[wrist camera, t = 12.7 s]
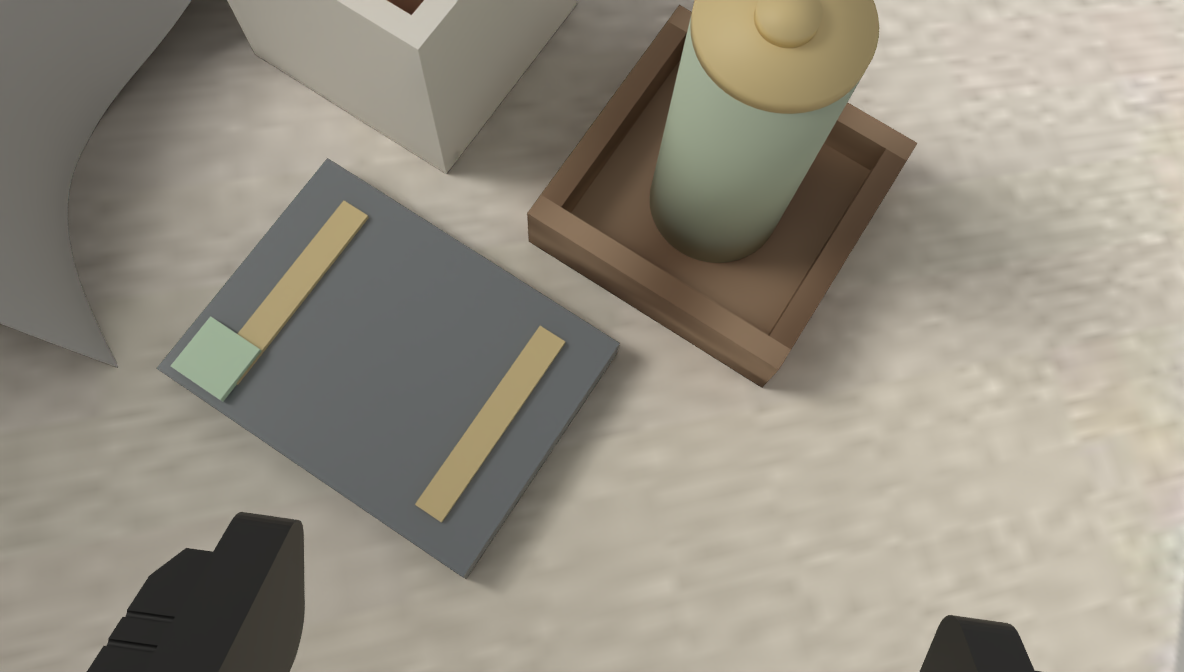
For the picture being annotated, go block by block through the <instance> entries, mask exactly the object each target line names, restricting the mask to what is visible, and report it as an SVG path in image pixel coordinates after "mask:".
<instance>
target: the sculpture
mask: <svg viewBox="0 0 1184 672" xmlns="http://www.w3.org/2000/svg"><path fill="white" fill-rule="evenodd" d="M190 2H191V0H0V324H2V325H5V326H8V327H10V328H13V329H15V330H18V331H21V332H23V333H26V334H29V335H31V336H34V337H36V338H39V339H42V340H44V341H47V342H50V343H52V344H55V345H58V346H60V347H63V348H66V349H68V350H71V351H74V352H76V353H79V354H82V355H84V356H87V357H90V358H93V359H95V360H98V361H101V362H104V363H106V364H109V365H112V366H115V367H118V365H117V362H116V360H115V358H114V356H113V354H112V352H111V350H110V348H109V346H108V344H107V342H106V340H105V338H104V336H103V334H102V332H101V330H100V328H99V326H98V324H97V322H96V320H95V317H94V315H93V313H92V311H91V308H90V306H89V304H88V301H87V299H86V296H85V294H84V291H83V288H82V285H81V283H80V280H79V276H78V273H77V270H76V266H75V263H74V259H73V254H72V250H71V244H70V238H69V229H68V200H69V191H70V186H71V181H72V177H73V173H74V170H75V167H76V165H77V162H78V160H79V157H80V155H81V153H82V151H83V149H84V147H85V145H86V144H87V142H88V140H89V138H90V136H91V134H92V132H93V131H94V129H95V127H96V125H97V124H98V122H99V120H100V119H101V117H102V116H103V114H104V113H105V111H106V110H107V108H108V107H109V106H110V104H111V103H112V101H113V100H114V99H115V97H116V96H117V95H118V94H119V92H120V91H121V90H122V88H123V87H124V86H125V85H126V83H127V82H128V81H129V80H130V79H131V77H132V76H133V75H134V74H135V73H136V71H137V70H138V69H139V68H140V67H141V65H142V64H143V63H144V62H145V61H146V59H147V58H148V57H149V56H150V55H151V53H152V52H153V51H154V50H155V49H156V47H157V46H158V45H159V44H160V42H161V41H162V40H163V39H164V37H165V36H166V35H167V34H168V32H169V31H170V30H171V28H172V27H173V26H174V24H175V23H176V22H177V20H178V19H179V18H180V16H181V15H182V13H183V12H184V10H185V9H186V8H187V6H188V5H189V3H190Z"/></svg>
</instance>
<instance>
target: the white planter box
mask: <svg viewBox="0 0 1184 672" xmlns="http://www.w3.org/2000/svg"><path fill="white" fill-rule="evenodd" d="M227 1H228V3H229V5H230V7H231V9H232V11H233V13H234V15H235V16H236V18H237V20H238V22H239V24H240V26H241V28H242V30H243V32H244V34H245V36H246V38H247V40H248V42H249V44H250V45H251V47H252V49H253V51H254V53H255V55H257V56H258V57H260V58H262V59H263V60H265V61H266V62H268V63H270V64H271V65H273V66H274V67H276V68H278V69H279V70H281V71H282V72H284V73H286V74H287V75H289V76H290V77H292V78H294V79H295V80H297V81H298V82H300V83H302V84H303V85H305V86H306V87H308V88H310V89H311V90H313V91H314V92H316V93H318V94H319V95H321V96H322V97H324V98H326V99H327V100H329V101H330V102H332V103H334V104H335V105H337V106H338V107H340V108H342V109H343V110H345V111H346V112H348V113H350V114H351V115H353V116H354V117H356V118H358V119H359V120H361V121H362V122H364V123H366V124H367V125H369V126H370V127H372V128H374V129H375V130H377V131H378V132H380V133H382V134H383V135H385V136H386V137H388V138H390V139H391V140H393V141H394V142H396V143H398V144H399V145H401V146H402V147H404V148H406V149H407V150H409V151H410V152H412V153H414V154H415V155H417V156H418V157H420V158H422V159H423V160H425V161H426V162H428V163H430V164H431V165H433V166H434V167H436V168H438V169H439V170H441V171H442V172H444V173H446V174H447V172H448V171H449V170H450V169H451V167H452V166H453V165H454V163H455V162H456V161H457V159H458V158H459V157H460V156H461V154H462V153H463V152H464V150H465V149H466V148H467V146H468V145H469V144H470V143H471V141H472V140H473V139H474V137H475V136H476V135H477V133H478V132H479V131H480V130H481V128H482V127H483V126H484V124H485V123H486V122H487V120H488V119H489V118H490V116H491V115H492V114H493V113H494V111H495V110H496V109H497V107H498V106H499V105H500V103H501V102H502V101H503V100H504V98H505V97H506V96H507V94H508V93H509V92H510V90H511V89H512V88H513V87H514V85H515V84H516V83H517V81H518V80H519V79H520V77H521V76H522V75H523V74H524V72H525V71H526V70H527V68H528V67H529V66H530V64H531V63H532V62H533V60H534V59H535V58H536V57H537V55H538V54H539V53H540V51H541V50H542V49H543V47H544V46H545V45H546V44H547V42H548V41H549V40H550V38H551V37H552V36H553V34H554V33H555V32H556V31H557V29H558V28H559V27H560V25H561V24H562V23H563V21H564V20H565V19H566V18H567V16H568V15H569V14H570V12H571V11H572V10H573V8H574V7H575V6H576V4H577V2H578V0H424V1H423V2H422V3H421V4H420V6H419V7H418V8H417V9H416V11H415V12H414V13H413V14H412V15H410V14H408V13H407V12H405V11H403V10H402V9H400V8H399V7H397V6H395V5H394V4H392V3H390V2H389V1H387V0H227Z"/></svg>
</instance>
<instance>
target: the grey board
mask: <svg viewBox="0 0 1184 672" xmlns="http://www.w3.org/2000/svg"><path fill="white" fill-rule="evenodd" d="M619 344H620V343H619V342H617V341H615V340H614V339H612V338H611V337H609V336H608V335H606V334H604V333H603V332H601V331H600V330H598V329H596V328H595V327H593V326H592V325H590V324H589V323H587V322H585V321H584V320H582V319H581V318H579V317H578V316H576V315H574V314H573V313H571V312H570V311H568V310H567V309H565V308H563V307H562V306H560V305H559V304H557V303H555V302H554V301H552V300H551V299H549V298H548V297H546V296H544V295H543V294H541V293H540V292H538V291H537V290H535V289H533V288H532V287H530V286H529V285H527V284H525V283H524V282H522V281H521V280H519V279H518V278H516V277H514V276H513V275H511V274H510V273H508V272H507V271H505V270H503V269H502V268H500V267H499V266H497V265H495V264H494V263H492V262H491V261H489V260H488V259H486V258H484V257H483V256H481V255H480V254H478V253H477V252H475V251H473V250H472V249H470V248H469V247H467V246H465V245H464V244H462V243H461V242H459V241H458V240H456V239H454V238H453V237H451V236H450V235H448V234H447V233H445V232H443V231H442V230H440V229H439V228H437V227H436V226H434V225H432V224H431V223H429V222H428V221H426V220H424V219H423V218H421V217H420V216H418V215H417V214H415V213H413V212H412V211H410V210H409V209H407V208H406V207H404V206H402V205H401V204H399V203H398V202H396V201H394V200H393V199H391V198H390V197H388V196H387V195H385V194H383V193H382V192H380V191H379V190H377V189H376V188H374V187H372V186H371V185H369V184H368V183H366V182H364V181H363V180H361V179H360V178H358V177H357V176H355V175H353V174H352V173H350V172H349V171H347V170H346V169H344V168H342V167H341V166H339V165H338V164H336V163H334V162H333V161H331V160H330V159H328V158H327V159H326V161H325V162H324V163H323V164H322V165H321V167H320V168H319V169H318V170H317V172H316V173H315V174H314V175H313V176H312V178H311V179H310V180H309V181H308V183H307V184H306V185H305V186H304V188H303V189H302V190H301V191H300V192H299V194H298V195H297V196H296V197H295V199H294V200H293V201H292V202H291V204H290V205H289V206H288V207H287V208H286V210H285V211H284V212H283V213H282V215H281V216H280V217H279V218H278V220H277V221H276V222H275V223H274V224H273V226H272V227H271V228H270V229H269V231H268V232H267V233H266V234H265V236H264V237H263V238H262V239H261V240H260V242H259V243H258V244H257V245H256V247H255V248H254V249H253V250H252V252H251V253H250V254H249V255H248V256H247V258H246V259H245V260H244V261H243V263H242V264H241V265H240V266H239V268H238V269H237V270H236V271H235V272H234V274H233V275H232V276H231V277H230V279H229V280H228V281H227V282H226V283H225V285H224V286H223V287H222V288H221V290H220V291H219V292H218V293H217V295H216V296H215V297H214V298H213V299H212V301H211V302H210V303H209V304H208V306H207V307H206V308H205V309H204V311H203V312H202V313H201V314H200V315H199V317H198V318H197V319H196V320H195V322H194V323H193V324H192V325H191V327H190V328H189V329H188V330H187V331H186V333H185V334H184V335H183V336H182V338H181V339H180V340H179V341H178V343H177V344H176V345H175V346H174V347H173V349H172V350H171V351H170V352H169V354H168V355H167V356H166V357H165V359H164V360H163V361H162V362H161V363H160V365H159V366H158V367H157V369H158V370H159V371H161V372H162V373H164V374H165V375H167V376H168V377H170V378H171V379H173V380H174V381H176V382H177V383H179V384H180V385H181V386H183V387H184V388H186V389H187V390H189V391H190V392H192V393H193V394H195V395H196V396H198V397H199V398H201V399H202V400H203V401H205V402H206V403H208V404H209V405H211V406H212V407H214V408H215V409H217V410H218V411H220V412H221V413H223V414H224V415H225V416H227V417H228V418H230V419H231V420H233V421H234V422H236V423H237V424H239V425H240V426H242V427H243V428H245V429H246V430H247V431H249V432H250V433H252V434H253V435H255V436H256V437H258V438H259V439H261V440H262V441H264V442H265V443H267V444H268V445H269V446H271V447H272V448H274V449H275V450H277V451H278V452H280V453H281V454H283V455H284V456H286V457H287V458H289V459H290V460H291V461H293V462H294V463H296V464H297V465H299V466H300V467H302V468H303V469H305V470H306V471H308V472H309V473H311V474H312V475H313V476H315V477H316V478H318V479H319V480H321V481H322V482H324V483H325V484H327V485H328V486H330V487H331V488H333V489H334V490H335V491H337V492H338V493H340V494H341V495H343V496H344V497H346V498H347V499H349V500H350V501H352V502H353V503H355V504H356V505H357V506H359V507H360V508H362V509H363V510H365V511H366V512H368V513H369V514H371V515H372V516H374V517H375V518H377V519H378V520H379V521H381V522H382V523H384V524H385V525H387V526H388V527H390V528H391V529H393V530H394V531H396V532H397V533H398V534H400V535H401V536H403V537H404V538H406V539H407V540H409V541H410V542H412V543H413V544H415V545H416V546H418V547H419V548H420V549H422V550H423V551H425V552H426V553H428V554H429V555H431V556H432V557H434V558H435V559H437V560H438V561H440V562H441V563H442V564H444V565H445V566H447V567H448V568H450V569H451V570H453V571H454V572H456V573H457V574H459V575H460V576H462V577H463V578H465V579H466V578H467V577H468V575H469V574H470V572H471V571H472V569H473V568H474V566H475V565H476V563H477V562H478V560H479V559H480V557H481V556H482V554H483V553H484V551H485V550H486V548H487V547H488V545H489V544H490V542H491V541H492V539H493V538H494V536H495V535H496V533H497V532H498V530H499V529H500V527H501V526H502V524H503V523H504V522H505V520H506V519H507V517H508V516H509V514H510V513H511V511H512V510H513V508H514V507H515V505H516V504H517V502H518V501H519V499H520V498H521V496H522V495H523V493H524V492H525V490H526V489H527V487H528V486H529V484H530V483H531V481H532V480H533V478H534V477H535V475H536V474H537V472H538V471H539V469H540V468H541V466H542V465H543V463H544V462H545V460H546V459H547V457H548V456H549V454H550V453H551V451H552V450H553V448H554V447H555V445H556V444H557V442H558V441H559V439H560V438H561V436H562V435H563V433H564V432H565V430H566V429H567V427H568V426H569V424H570V423H571V421H572V420H573V418H574V417H575V415H576V414H577V412H578V411H579V409H580V408H581V406H582V405H583V403H584V402H585V400H586V399H587V397H588V396H589V394H590V393H591V391H592V390H593V388H594V387H595V385H596V384H597V382H598V381H599V379H600V378H601V376H602V375H603V373H604V372H605V370H606V369H607V367H608V366H609V364H610V363H611V361H612V360H613V358H614V357H615V355H616V354H617V352H618V348H619Z"/></svg>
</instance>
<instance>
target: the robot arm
mask: <svg viewBox="0 0 1184 672" xmlns="http://www.w3.org/2000/svg"><path fill="white" fill-rule="evenodd" d="M304 611H305V600H304V533H303V525H302V523H301V521H299V520H294V519H287V518H280V517H273V516H266V515H259V514H252V513H245V512H239V513H238V514H236V516H235V517H234V518H233V519H232V521H231V522H230V524H229V526H228V527H227V529H226V531H225V533H224V534H223V536H222V538H221V539H220V541H219V543H218V544H217V546H216V548H215V550H214V551H213V552H211V551H204V550H197V549H189V548H186V549H184V550H183V551H182V552H180V553H179V554H178V555H176V556H175V557H174V558H172V559H171V560H170V561H168V562H167V563H166V564H164V565H163V566H162V567H160V568H159V569H158V570H156V571H155V572H154V573H152V574H151V575H150V576H149V577H148V579H147V580H146V582H145V583H144V585H143V586H142V588H141V589H140V591H139V593H138V594H137V596H136V597H135V599H134V600H133V602H132V603H131V605H130V606H129V608H128V609H127V614H126V617H122V619H121V620H120V622H119V623H118V625H117V626H116V628H115V629H114V631H113V632H112V634H111V635H110V637H109V640H108V644H107V646H103V648H102V649H101V651H100V652H99V654H98V655H97V657H96V658H95V660H94V661H93V663H92V665H91V666H90V668H89V669H88V671H87V672H290V669H291V667H292V665H293V662H294V660H295V657H296V654H297V650H298V647H299V643H300V639H301V634H302V629H303V622H304ZM920 672H1040V671H1034V668H1033V666H1032V664H1031V661H1030V659H1029V657H1028V654H1027V652H1026V650H1025V647H1024V645H1023V643H1022V640H1021V638H1020V636H1019V634H1018V632H1017V630H1016V629H1015V628H1014V627H1013V626H1012V625H1011V624H1008V623H1002V622H995V621H988V620H981V619H974V618H967V617H960V616H953V615H948V616H946V617H945V618H944V619H943V620H942V621H941V623H940V625H939V627H938V629H937V631H936V634H935V636H934V639H933V641H932V643H931V646H930V648H929V651H928V653H927V655H926V658H925V660H924V663H923V665H922V667H921V670H920Z"/></svg>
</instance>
